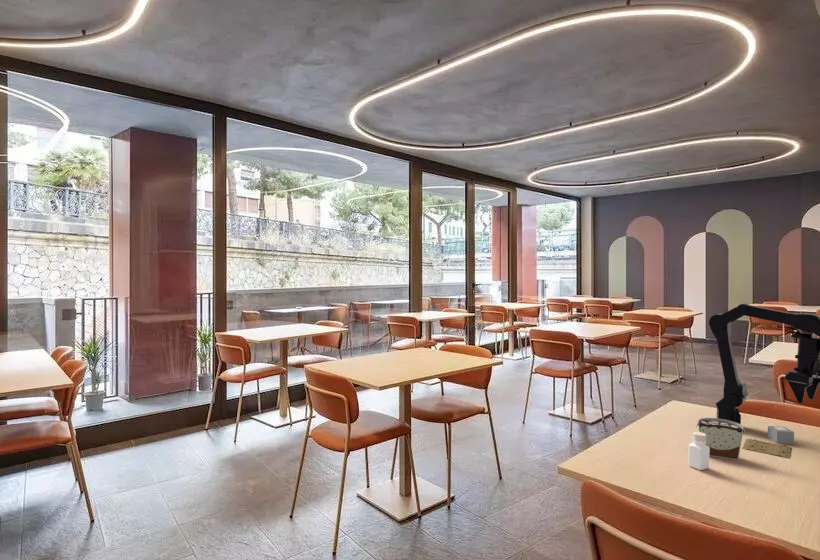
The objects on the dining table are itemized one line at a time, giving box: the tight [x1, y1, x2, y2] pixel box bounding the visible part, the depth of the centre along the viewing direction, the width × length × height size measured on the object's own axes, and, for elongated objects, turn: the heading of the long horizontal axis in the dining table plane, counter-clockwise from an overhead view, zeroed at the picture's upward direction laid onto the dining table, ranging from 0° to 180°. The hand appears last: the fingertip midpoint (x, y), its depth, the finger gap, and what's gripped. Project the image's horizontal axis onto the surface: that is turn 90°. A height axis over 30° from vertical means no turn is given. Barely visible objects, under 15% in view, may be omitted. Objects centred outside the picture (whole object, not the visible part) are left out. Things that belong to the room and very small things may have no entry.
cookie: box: [741, 438, 793, 460], centre depth 155 cm, size 12×12×1 cm
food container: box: [695, 417, 746, 461], centre depth 150 cm, size 12×6×10 cm, turn 65°
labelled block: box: [767, 425, 795, 445], centre depth 162 cm, size 5×5×4 cm
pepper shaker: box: [687, 431, 710, 471], centre depth 139 cm, size 4×4×10 cm
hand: (805, 400), depth 161 cm, fingers open, 9 cm apart
